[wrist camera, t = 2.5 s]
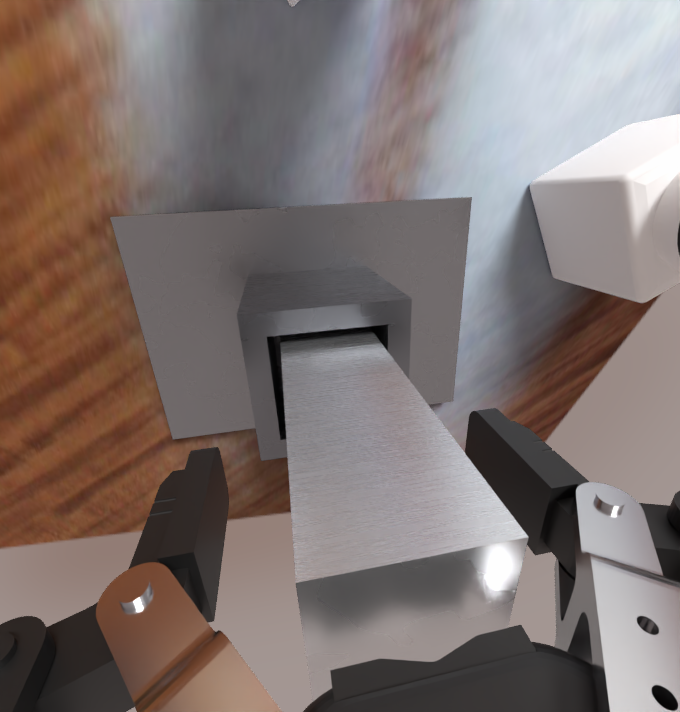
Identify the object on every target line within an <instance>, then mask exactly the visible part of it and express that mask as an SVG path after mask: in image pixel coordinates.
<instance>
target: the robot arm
mask: <svg viewBox="0 0 680 712" xmlns="http://www.w3.org/2000/svg"><path fill="white" fill-rule="evenodd" d="M465 454H466V455H467V457H468V458H469V459H470V461H471V462H472V463H473V465H474V466H475V467H476V469H477V470H478V471H479V472H480V474H481V475H482V476H483V478H484V479H485V480H486V482H487V483H488V484H489V486H490V487H491V488H492V490H493V491H494V492H495V494H496V495H497V496H498V497H499V499H500V500H501V501H502V503H503V504H504V505H505V507H506V508H507V509H508V511H509V512H510V513H511V515H512V516H513V517H514V519H515V520H516V521H517V523H518V524H519V525H520V526H521V528H522V529H523V530H524V532H525V533H526V534H527V536H528V537H529V538H528V542H527V545H528V546H529V548H530V549H531V550H532V551H533V553H534V554H535V555H538V554H544V553H548V552H552V553H553V554H554V555H555V556H556V558H557V559H556V563H555V599H556V600H555V602H556V640H555V646H554V647H553V646H550V645H546V644H541V643H536V642H531V641H530V639H529V638H528V636H527V634H526V633H525V631H524V629H523V628H522V626H521V625H518V626H514V627H509V628H505V629H501V630H497V631H493V632H488V633H484V634H480V635H477V636H475V637H473V638H472V639H470V640H469V641H467V642H466V643H464V644H463V645H461V646H460V647H458V648H456V649H455V650H453V651H452V652H450V653H449V654H447V655H446V656H444V657H443V658H441V659H439V660H437V661H434V662H423V661H409V660H395V659H381V658H380V659H376V660H371V661H367V662H363V663H359V664H355V665H350V666H346V667H342V668H338V669H334V670H330V673H331V683H332V688H331V689H330V690H328V691H327V692H325V693H323V694H322V695H321V696H319V697H318V698H317V699H316V700H314V701H313V702H312V703H311V704H310V705H309V706H308V707H307V708H306V709H305V710H304V711H303V712H680V491H679V492H677V493H676V494H675V496H674V498H673V500H672V503H671V505H670V506H666V505H655V504H643V503H638V502H637V501H636V500H635V499H634V498H633V497H632V496H630V495H629V494H627V493H626V492H624V491H622V490H620V489H618V488H616V487H613V486H611V485H607V484H603V483H597V482H589V481H588V480H587V479H585V478H584V477H583V476H582V475H581V474H580V473H579V472H578V471H576V470H575V469H574V468H573V467H572V466H571V465H570V464H569V463H568V462H566V461H565V460H564V459H563V458H562V457H561V456H560V455H558V454H557V453H556V452H555V451H552V448H551V447H549V446H548V445H547V444H546V443H545V442H542V440H541V439H540V438H539V437H538V436H537V435H536V434H535V433H534V432H532V431H531V430H530V429H528V428H526V427H524V426H522V425H520V424H519V423H517V422H515V421H510V420H509V419H508V418H506V417H505V416H504V415H503V414H502V413H501V412H500V411H499V410H498V409H495V408H493V409H486V410H479V411H473V412H471V414H470V416H469V423H468V431H467V440H466V448H465ZM228 508H229V496H228V487H227V482H226V478H225V473H224V468H223V464H222V459H221V455H220V451H219V448H218V447H214V448H207V449H200V450H193V451H191V452H190V454H189V457H188V461H187V464H186V467H185V470H178V471H173V472H172V473H171V474H170V475H169V476H168V477H167V478H166V479H165V481H164V482H163V483H162V484H161V485H160V487H159V490H158V493H157V495H156V498H155V503H154V504H153V506H152V508H151V511H150V517H148V519H147V522H146V524H145V527H144V530H143V532H142V535H141V538H140V540H139V543H138V546H137V549H136V551H135V554H134V557H133V559H132V562H131V564H130V567H129V569H128V570H127V571H125V572H123V573H122V574H121V575H119V576H118V577H117V578H116V579H115V580H114V581H112V582H111V583H110V585H109V586H108V587H107V588H106V590H105V591H104V592H103V594H102V596H101V597H100V599H99V601H98V602H97V603H96V604H94V605H93V606H91V607H89V608H87V609H85V610H83V611H81V612H79V613H76V614H74V615H72V616H70V617H68V618H66V619H64V620H61V621H59V622H57V623H55V624H53V625H51V626H49V627H46V626H45V624H44V623H43V622H42V620H40V619H39V618H37V617H33V616H24V617H19V618H15V619H12V620H10V621H7V622H5V623H3V624H1V625H0V712H126V711H128V710H129V709H131V708H133V707H135V708H136V711H137V712H282V711H281V709H280V708H279V707H278V705H277V704H276V703H275V701H274V700H273V698H272V697H271V696H270V695H269V693H268V692H267V690H266V689H265V688H264V686H263V685H262V684H261V682H260V681H259V680H258V678H257V677H256V676H255V674H254V673H253V671H252V670H251V669H250V667H249V666H248V665H247V663H246V662H245V661H244V659H243V658H242V657H241V655H240V654H239V653H238V651H237V650H236V649H235V647H234V646H233V645H232V643H231V642H230V641H229V639H228V638H227V637H226V636H225V635H224V634H223V633H222V632H221V631H217V632H215V631H214V630H213V629H212V628H211V627H210V625H209V624H208V622H212V621H214V617H215V610H216V602H217V594H218V586H219V579H220V578H219V577H220V571H221V562H222V555H223V547H224V539H225V532H226V524H227V516H228Z"/></svg>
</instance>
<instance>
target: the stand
mask: <svg viewBox="0 0 680 712" xmlns="http://www.w3.org/2000/svg"><path fill="white" fill-rule="evenodd" d="M471 200H472V197H461V198H443V199H424V200H406V201H387V202H369V203H350V204H332V205H313V206H295V207H276V208H258V209H240V210H221V211H203V212H184V213H166V214H147V215H129V216H115V217H110V218H111V222H112V226H113V229H114V233H115V236H116V240H117V243H118V247H119V250H120V254H121V257H122V261H123V265H124V268H125V272H126V275H127V279H128V282H129V286H130V289H131V293H132V296H133V300H134V304H135V307H136V311H137V314H138V318H139V321H140V325H141V328H142V332H143V336H144V339H145V343H146V346H147V350H148V353H149V357H150V360H151V364H152V367H153V371H154V375H155V378H156V382H157V385H158V389H159V392H160V396H161V399H162V403H163V406H164V410H165V414H166V417H167V421H168V424H169V428H170V431H171V435H172V438H173V439H180V438H187V437H194V436H202V435H209V434H216V433H224V432H231V431H239V430H246V429H253V428H256V434H257V440H258V446H259V452H260V458H261V461H264V460H271V459H278V458H285V457H288V455H287V440H286V424H285V409H284V393H283V378H282V362H281V347H280V335H289V334H298V333H308V332H318V331H328V330H337V329H347V328H357V327H367V326H369V328H370V329H371V330H372V332H373V333H374V334H375V336H376V337H377V338H378V339H379V341H380V342H381V343H382V345H383V346H384V347H385V349H386V350H387V351H388V353H389V354H390V355H391V357H392V358H393V359H394V361H395V362H396V363H397V364H398V366H399V367H400V368H401V370H402V371H403V372H404V374H405V375H406V376H407V378H408V379H409V380H410V382H411V383H412V384H413V386H414V387H415V388H416V389H417V391H418V392H419V393H420V395H421V396H422V397H423V399H424V400H425V401H426V403H427V404H428V405H430V404H437V403H444V402H452V401H453V395H454V385H455V374H456V363H457V352H458V341H459V330H460V319H461V308H462V297H463V287H464V276H465V265H466V254H467V243H468V232H469V221H470V210H471Z"/></svg>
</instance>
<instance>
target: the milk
mask: <svg viewBox="0 0 680 712" xmlns="http://www.w3.org/2000/svg"><path fill="white" fill-rule="evenodd" d="M287 1H288V3H289V4H290V6H291V7H293V6H294V5H296V4H297V3H298V2H299V1H300V0H287Z"/></svg>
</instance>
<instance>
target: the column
mask: <svg viewBox="0 0 680 712" xmlns="http://www.w3.org/2000/svg"><path fill="white" fill-rule="evenodd" d="M280 347H281V362H282V378H283V393H284V409H285V424H286V440H287V455H288V471H289V486H290V502H291V517H292V533H293V547H294V563H295V579H296V588H297V595H298V602H299V608H300V616H301V622H302V630H303V637H304V643H305V651H306V657H307V665H308V671H309V679H310V685H311V692H312V699H313V701H314V700H316V699H317V698H318V697H319V696H321V695H322V694H323V693H325V692H327V691H328V690H330V689H331V688H332V683H331V673H330V670H334V669H338V668H342V667H346V666H350V665H355V664H359V663H363V662H367V661H371V660H376V659H380V658H381V659H395V660H409V661H423V662H434V661H437V660H439V659H441V658H443V657H444V656H446V655H447V654H449V653H450V652H452V651H453V650H455V649H456V648H458V647H460V646H461V645H463V644H464V643H466V642H467V641H469V640H470V639H472V638H473V637H475V636H477V635H480V634H484V633H488V632H493V631H497V630H501V629H505V628H508V625H509V621H510V616H511V611H512V607H513V603H514V598H515V594H516V590H517V586H518V581H519V577H520V573H521V568H522V564H523V559H524V555H525V551H526V546H527V542H528V538H529V537H528V536H527V534H526V533H525V532H524V530H523V529H522V528H521V526H520V525H519V524H518V523H517V521H516V520H515V519H514V517H513V516H512V515H511V513H510V512H509V511H508V509H507V508H506V507H505V505H504V504H503V503H502V501H501V500H500V499H499V497H498V496H497V495H496V494H495V492H494V491H493V490H492V488H491V487H490V486H489V484H488V483H487V482H486V480H485V479H484V478H483V476H482V475H481V474H480V472H479V471H478V470H477V469H476V467H475V466H474V465H473V463H472V462H471V461H470V459H469V458H468V457H467V455H466V454H465V453H464V451H463V450H462V449H461V447H460V446H459V445H458V443H457V442H456V441H455V440H454V438H453V437H452V436H451V434H450V433H449V432H448V430H447V429H446V428H445V426H444V425H443V424H442V422H441V421H440V420H439V418H438V417H437V416H436V415H435V413H434V412H433V411H432V409H431V408H430V407H429V405H428V404H427V403H426V401H425V400H424V399H423V397H422V396H421V395H420V393H419V392H418V391H417V389H416V388H415V387H414V386H413V384H412V383H411V382H410V380H409V379H408V378H407V376H406V375H405V374H404V372H403V371H402V370H401V368H400V367H399V366H398V364H397V363H396V362H395V361H394V359H393V358H392V357H391V355H390V354H389V353H388V351H387V350H386V349H385V347H384V346H383V345H382V343H381V342H380V341H379V339H378V338H377V337H376V336H375V334H374V333H373V332H372V330H371V329H370V328H369V326H367V327H357V328H347V329H337V330H328V331H318V332H308V333H298V334H289V335H280Z"/></svg>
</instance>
